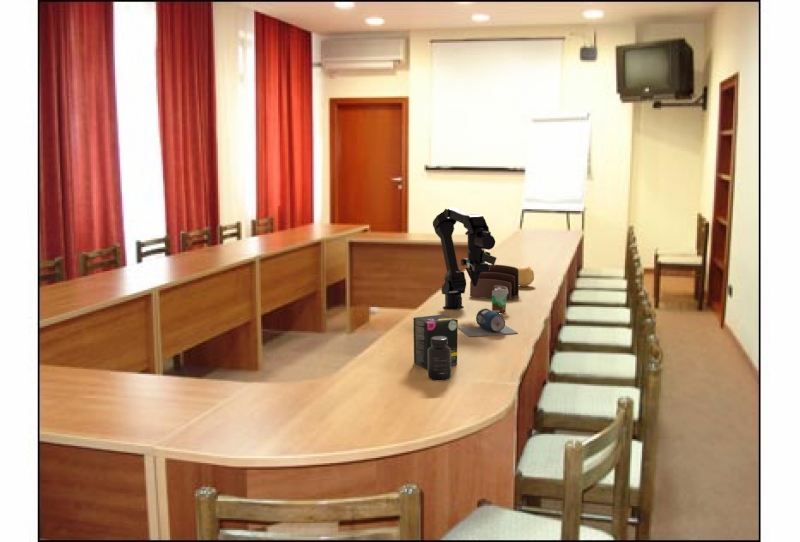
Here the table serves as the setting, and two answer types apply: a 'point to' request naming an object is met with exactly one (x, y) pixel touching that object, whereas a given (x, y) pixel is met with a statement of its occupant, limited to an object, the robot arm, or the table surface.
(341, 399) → the table surface
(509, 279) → the letter holder
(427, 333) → the tampon box
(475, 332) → the mat
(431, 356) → the supplement bottle
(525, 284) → the stress ball
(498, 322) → the soda can
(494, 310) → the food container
